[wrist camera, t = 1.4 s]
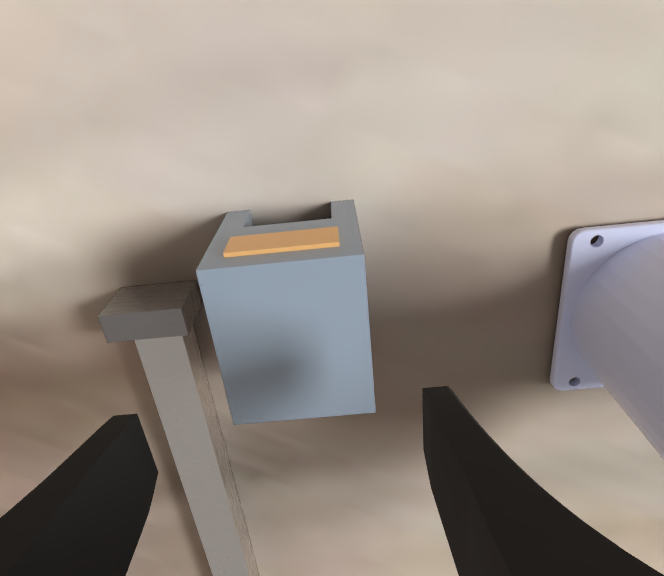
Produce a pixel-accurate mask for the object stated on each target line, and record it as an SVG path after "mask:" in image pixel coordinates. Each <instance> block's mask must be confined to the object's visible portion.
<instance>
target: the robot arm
mask: <svg viewBox="0 0 664 576" xmlns="http://www.w3.org/2000/svg"><path fill="white" fill-rule="evenodd" d="M597 235H599V238H598V240H597V241H596V242H595V243H592V244H590V241H591V239H592V238H593V237H594V236H597ZM575 377H576V378H575ZM572 378H575V379H574V380H573V381H570V380H571V379H572ZM550 383H551V384H552V386H553V387H554V389H556V390H558V391H565V390H577V389H588V388H599V387H605V388H606V389H607V390H608V391H609V393H610V394H611V395H612V396H613V398H614V399H615V400H616V401H617V403H618V404H619V405H620V406H621V407H622V409H623V410H624V411H625V412H626V414H627V415H628V416H629V417H630V419H631V420H632V421H633V422H634V424H635V425H636V426H637V427H638V428H639V430H640V431H641V432H642V433H643V435H644V436H645V437H646V438H647V440H648V441H649V442H650V443H651V444H652V446H653V447H654V448H655V449H656V451H657V452H658V453H659V454H660V456H661V457H662V458H663V459H664V220H657V221H647V222H636V223H626V224H616V225H605V226H595V227H585V228H579V229H576V230H575V231H573V232H572V233H571V235H570V236H569V238H568V242H567V250H566V258H565V266H564V273H563V281H562V289H561V296H560V304H559V312H558V320H557V327H556V335H555V343H554V350H553V358H552V366H551V374H550ZM423 445H424V454H425V459H426V464H427V470H428V475H429V479H430V484H431V489H432V492H433V495H434V499H435V502H436V505H437V508H438V511H439V515H440V518H441V521H442V524H443V527H444V530H445V534H446V537H447V540H448V543H449V546H450V549H451V553H452V556H453V559H454V562H455V565H456V568H457V571H458V575H459V576H664V575H663V574H661V573H659V572H658V571H656V570H654V569H653V568H651V567H650V566H648V565H647V564H645V563H643V562H642V561H640V560H639V559H637V558H635V557H634V556H632V555H631V554H629V553H628V552H626V551H625V550H623V549H622V548H620V547H619V546H617V545H616V544H615V543H613V542H612V541H610V540H609V539H608V538H606V537H605V536H603V535H602V534H600V533H599V532H598V531H596V530H595V529H593V528H592V527H591V526H589V525H588V524H586V523H585V522H584V521H582V520H581V519H580V518H578V517H577V516H576V515H575V514H573V513H572V512H571V511H570V510H568V509H567V508H566V507H564V506H563V505H562V504H561V503H560V502H558V501H557V500H556V499H555V498H554V497H552V496H551V495H550V494H549V493H548V492H546V491H545V490H544V489H543V488H542V487H541V486H540V485H538V484H537V483H536V482H535V481H534V480H533V479H532V478H531V477H530V476H529V475H527V474H526V473H525V472H524V471H523V470H522V469H521V468H520V467H519V466H518V465H517V464H516V463H515V462H514V461H513V460H512V459H511V458H510V457H509V456H508V455H507V454H506V453H505V452H504V451H503V450H502V449H501V448H500V447H499V446H498V444H497V443H496V442H495V441H494V440H493V439H492V438H491V437H490V436H489V435H488V434H487V433H486V432H485V430H484V429H483V428H482V427H481V426H480V425H479V424H478V422H477V421H476V420H475V419H474V418H473V416H472V415H471V414H470V413H469V412H468V410H467V409H466V408H465V407H464V405H463V404H462V403H461V402H460V400H459V399H458V398H457V396H456V395H455V394H454V392H453V391H452V390H451V389H450V388H449V387H448V386H443V387H431V388H423ZM157 475H158V470H157V468H156V465H155V462H154V459H153V456H152V454H151V451H150V448H149V445H148V442H147V440H146V437H145V434H144V431H143V429H142V426H141V423H140V420H139V417H138V415H137V414H128V415H117V416H113V417H112V418H111V419H109V420H108V421H107V422H106V423H105V424H104V425H103V426H101V427H100V428H99V429H98V430H97V431H96V432H95V433H94V434H93V435H92V436H91V437H90V438H89V439H88V440H87V441H86V442H84V443H83V444H82V445H81V446H80V447H79V448H78V449H77V450H76V451H75V452H74V453H73V454H72V455H71V456H70V457H69V458H68V459H66V460H65V461H64V462H63V463H62V464H61V465H60V466H59V467H58V468H57V469H56V470H55V471H54V472H53V473H51V474H50V475H49V476H48V477H47V478H46V479H45V480H44V481H43V482H42V483H40V484H39V485H38V486H37V487H36V488H35V489H34V490H32V491H31V492H30V493H29V494H28V495H27V496H25V497H24V498H23V499H22V500H21V501H20V502H19V503H17V504H16V505H15V506H14V507H13V508H12V509H11V510H9V511H8V512H7V513H6V514H5V515H3V516H2V517H1V518H0V576H125V575H126V573H127V570H128V567H129V565H130V562H131V559H132V557H133V554H134V551H135V549H136V546H137V543H138V541H139V538H140V535H141V533H142V530H143V527H144V524H145V522H146V519H147V516H148V513H149V510H150V506H151V502H152V498H153V494H154V489H155V484H156V480H157Z"/></svg>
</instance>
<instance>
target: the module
mask: <svg viewBox="0 0 664 576" xmlns="http://www.w3.org/2000/svg"><path fill="white" fill-rule="evenodd" d="M331 215H332V218H330V219H320V220H310V221H300V222H290V223H280V224H270V225H260V226H253V223H252V217H251V212H250V210H244V211H234V212H227V214H226V216H225V218H224V220H223V222H222V223H221V225H220V227H219V229H218V231H217V233H216V234H215V236H214V238H213V240H212V242H211V244H210V245H209V247H208V249H207V251H206V253H205V255H204V256H203V258H202V260H201V262H200V264H199V266H198V267H197V269H196V274H197V278H198V282H199V286H200V290H201V294H202V298H203V302H204V306H205V310H206V314H207V318H208V323H209V327H210V331H211V335H212V339H213V343H214V347H215V351H216V355H217V359H218V363H219V367H220V371H221V375H222V379H223V383H224V387H225V391H226V395H227V400H228V404H229V408H230V412H231V416H232V420H233V424H234V425H238V424H249V423H261V422H272V421H284V420H295V419H307V418H318V417H330V416H341V415H352V414H364V413H375V412H376V408H375V394H374V381H373V367H372V353H371V340H370V326H369V312H368V299H367V285H366V271H365V258H364V250H363V245H362V240H361V235H360V230H359V225H358V220H357V214H356V209H355V204H354V200H344V201H334V202H331Z"/></svg>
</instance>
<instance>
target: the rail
mask: <svg viewBox="0 0 664 576" xmlns="http://www.w3.org/2000/svg"><path fill="white" fill-rule="evenodd" d="M201 306H202V304H201V300H200V296H199V292H198V288H197V284H196V281H185V282H175V283H164V284H154V285H144V286H133V287H123V288H120V290H119V291H118V292H117V293H116V294H115V296H114V297H113V298H112V299H111V301H110V302H109V303H108V304H107V306H106V307H105V308H104V309H103V311H102V312H101V313H100V314H99V316H98V318H99V321H100V323H101V326H102V329H103V332H104V334H105V337H106V340H107V343H109V342H120V341H131V340H134V341H135V344H136V347H137V350H138V353H139V356H140V359H141V362H142V365H143V368H144V371H145V374H146V377H147V380H148V383H149V386H150V389H151V392H152V395H153V398H154V401H155V404H156V407H157V410H158V413H159V416H160V419H161V422H162V425H163V428H164V431H165V434H166V437H167V440H168V443H169V446H170V449H171V452H172V455H173V458H174V461H175V464H176V467H177V470H178V473H179V476H180V479H181V482H182V485H183V488H184V491H185V494H186V497H187V500H188V503H189V506H190V509H191V512H192V515H193V518H194V521H195V524H196V527H197V530H198V533H199V536H200V539H201V542H202V545H203V548H204V551H205V554H206V557H207V560H208V563H209V566H210V569H211V572H212V575H213V576H259V573H258V569H257V566H256V562H255V558H254V554H253V550H252V547H251V543H250V539H249V535H248V531H247V528H246V524H245V520H244V516H243V513H242V509H241V505H240V501H239V497H238V494H237V490H236V486H235V482H234V478H233V475H232V471H231V467H230V463H229V459H228V456H227V452H226V448H225V444H224V441H223V437H222V433H221V429H220V425H219V422H218V418H217V414H216V410H215V406H214V403H213V399H212V395H211V391H210V388H209V384H208V380H207V376H206V372H205V369H204V365H203V361H202V357H201V353H200V350H199V346H198V342H197V338H196V334H195V331H194V327H193V324H194V322H195V319H196V317H197V315H198V313H199V310H200V308H201Z"/></svg>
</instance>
